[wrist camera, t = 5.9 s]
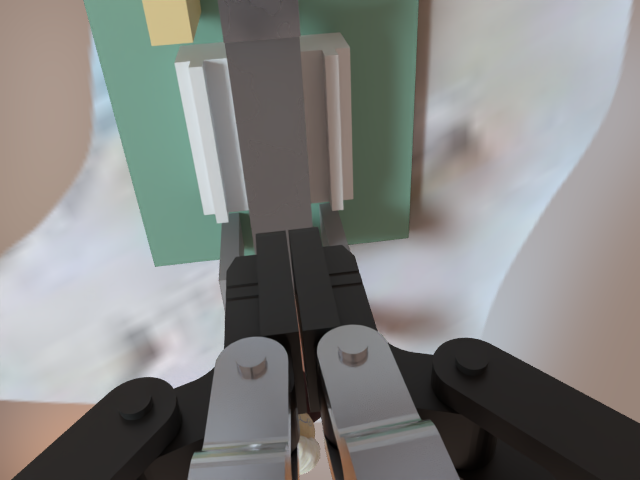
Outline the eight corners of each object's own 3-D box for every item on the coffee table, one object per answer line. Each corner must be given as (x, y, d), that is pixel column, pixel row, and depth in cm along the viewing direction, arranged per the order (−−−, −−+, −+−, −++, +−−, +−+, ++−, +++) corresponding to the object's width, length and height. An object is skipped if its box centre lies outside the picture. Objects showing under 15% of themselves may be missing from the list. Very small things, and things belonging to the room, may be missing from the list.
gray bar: (204, -22, 22) (202, -12, 20) (304, -30, 22) (310, -21, 21) (251, 281, 31) (252, 307, 29) (322, 273, 31) (327, 298, 29)
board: (71, -66, 25) (17, -46, 19) (416, -90, 26) (471, -78, 20) (157, 257, 35) (139, 339, 29) (404, 229, 36) (438, 302, 30)
